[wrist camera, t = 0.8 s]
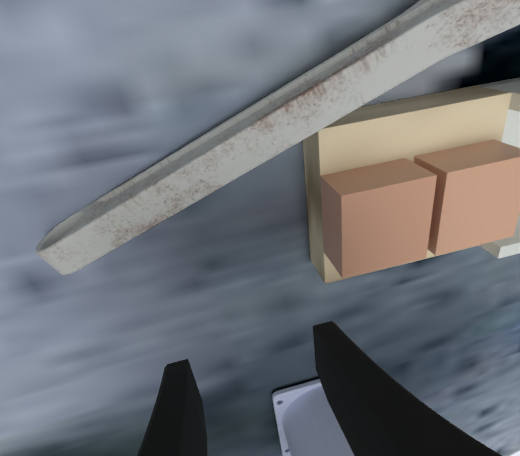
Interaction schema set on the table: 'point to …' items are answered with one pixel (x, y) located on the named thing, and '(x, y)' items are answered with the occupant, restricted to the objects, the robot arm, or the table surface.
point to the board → (396, 143)
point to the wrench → (276, 124)
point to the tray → (516, 134)
